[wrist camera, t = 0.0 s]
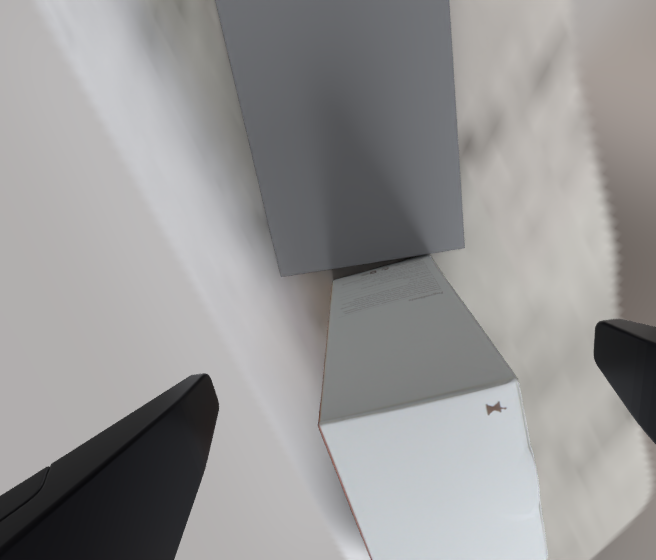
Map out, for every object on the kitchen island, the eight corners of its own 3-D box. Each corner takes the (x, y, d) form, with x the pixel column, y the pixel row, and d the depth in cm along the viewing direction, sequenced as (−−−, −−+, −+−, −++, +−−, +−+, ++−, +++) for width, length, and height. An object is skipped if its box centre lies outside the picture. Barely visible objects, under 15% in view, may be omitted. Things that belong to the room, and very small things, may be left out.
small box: (330, 278, 24) (312, 422, 12) (430, 251, 23) (525, 375, 11) (364, 383, 26) (380, 592, 14) (455, 362, 25) (556, 565, 13)
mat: (460, 244, 23) (464, 247, 22) (282, 273, 24) (281, 277, 23) (440, -62, 18) (444, -71, 17) (217, -8, 19) (212, -14, 18)
